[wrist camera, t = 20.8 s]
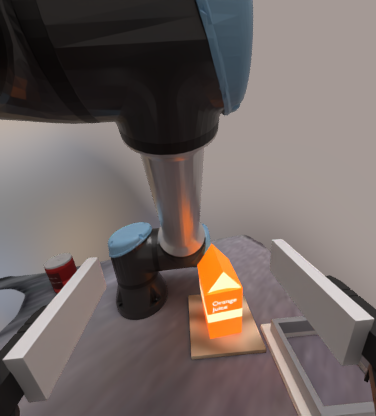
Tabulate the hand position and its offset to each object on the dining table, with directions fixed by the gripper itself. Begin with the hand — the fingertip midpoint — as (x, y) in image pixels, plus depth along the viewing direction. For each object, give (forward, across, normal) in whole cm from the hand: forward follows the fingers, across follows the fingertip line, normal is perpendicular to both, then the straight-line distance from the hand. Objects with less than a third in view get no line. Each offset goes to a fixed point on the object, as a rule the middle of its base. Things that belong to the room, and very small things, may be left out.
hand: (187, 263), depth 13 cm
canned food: (+40, -43, -34) cm, 68 cm away
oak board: (+22, +7, -34) cm, 41 cm away
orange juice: (+22, +7, -33) cm, 40 cm away
